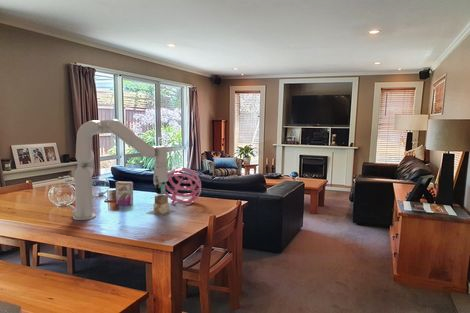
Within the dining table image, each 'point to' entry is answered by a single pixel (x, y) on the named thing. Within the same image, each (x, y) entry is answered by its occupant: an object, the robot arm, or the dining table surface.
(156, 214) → the felt mat
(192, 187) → the pink openwork sphere
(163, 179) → the robot arm
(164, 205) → the tower base
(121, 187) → the candy bar box
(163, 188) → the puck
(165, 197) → the tower top
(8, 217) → the dining table surface
